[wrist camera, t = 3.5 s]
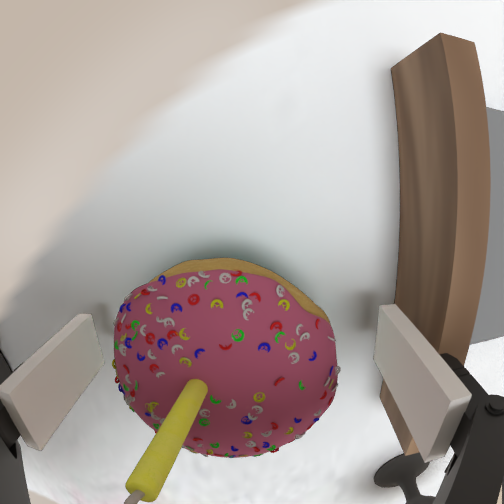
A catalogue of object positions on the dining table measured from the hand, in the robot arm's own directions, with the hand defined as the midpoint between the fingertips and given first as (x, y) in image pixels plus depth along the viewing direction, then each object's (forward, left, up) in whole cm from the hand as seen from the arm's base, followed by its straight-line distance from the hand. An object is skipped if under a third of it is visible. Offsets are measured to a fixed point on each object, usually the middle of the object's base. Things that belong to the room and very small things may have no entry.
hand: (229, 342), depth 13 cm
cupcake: (0, 0, -2) cm, 2 cm away
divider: (+9, +3, -2) cm, 10 cm away
